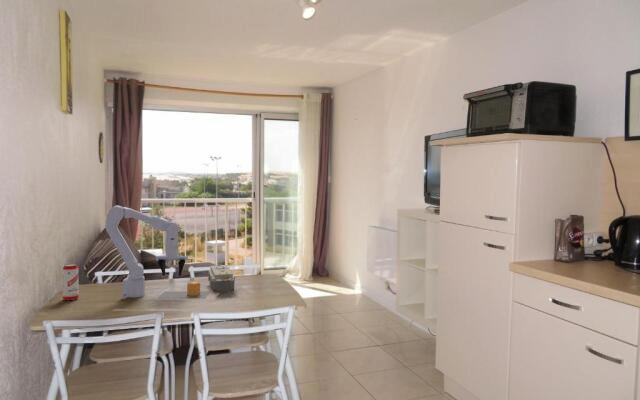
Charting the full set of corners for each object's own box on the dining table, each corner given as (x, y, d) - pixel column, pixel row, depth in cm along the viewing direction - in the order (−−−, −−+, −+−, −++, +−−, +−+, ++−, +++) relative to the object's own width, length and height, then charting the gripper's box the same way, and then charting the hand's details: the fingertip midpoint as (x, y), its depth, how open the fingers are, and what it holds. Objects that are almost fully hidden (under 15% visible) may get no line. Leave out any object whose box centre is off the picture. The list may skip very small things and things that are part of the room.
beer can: (81, 298, 205) (81, 264, 205) (69, 302, 200) (68, 266, 199) (72, 297, 208) (72, 263, 207) (59, 300, 202) (59, 265, 202)
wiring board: (157, 300, 205) (157, 289, 205) (164, 293, 217) (164, 283, 217) (205, 300, 206) (205, 289, 206) (210, 293, 218) (210, 283, 218)
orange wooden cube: (186, 295, 210) (186, 284, 209) (189, 292, 215) (189, 281, 215) (198, 295, 210) (198, 284, 210) (200, 292, 216) (200, 281, 215)
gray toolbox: (228, 280, 245) (228, 262, 244) (237, 296, 219) (237, 276, 218) (206, 281, 241) (206, 263, 240) (213, 298, 215) (213, 278, 213)
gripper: (153, 248, 210) (153, 277, 210) (185, 248, 210) (185, 277, 211) (158, 246, 217) (158, 273, 217) (188, 246, 218) (188, 273, 218)
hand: (171, 275), depth 215 cm, fingers open, 7 cm apart
